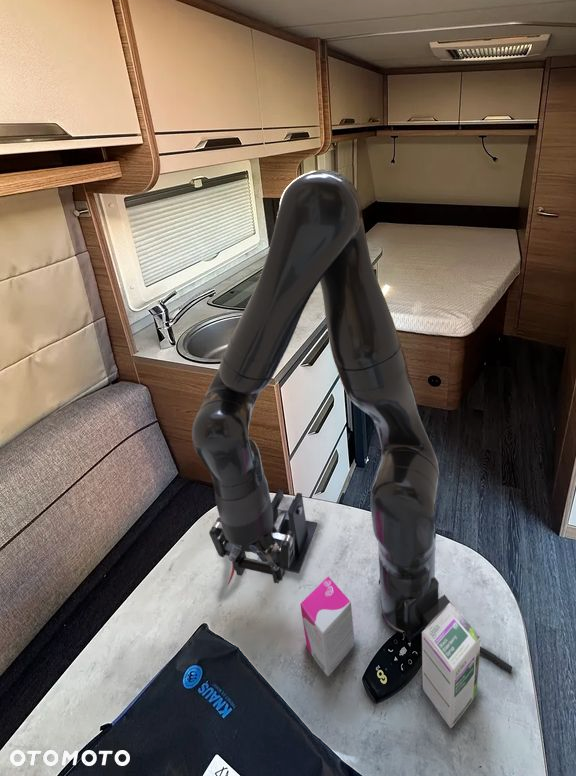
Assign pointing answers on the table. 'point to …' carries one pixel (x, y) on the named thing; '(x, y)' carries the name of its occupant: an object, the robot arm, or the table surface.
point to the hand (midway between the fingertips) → (260, 573)
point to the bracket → (295, 528)
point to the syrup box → (450, 663)
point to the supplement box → (328, 625)
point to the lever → (282, 515)
